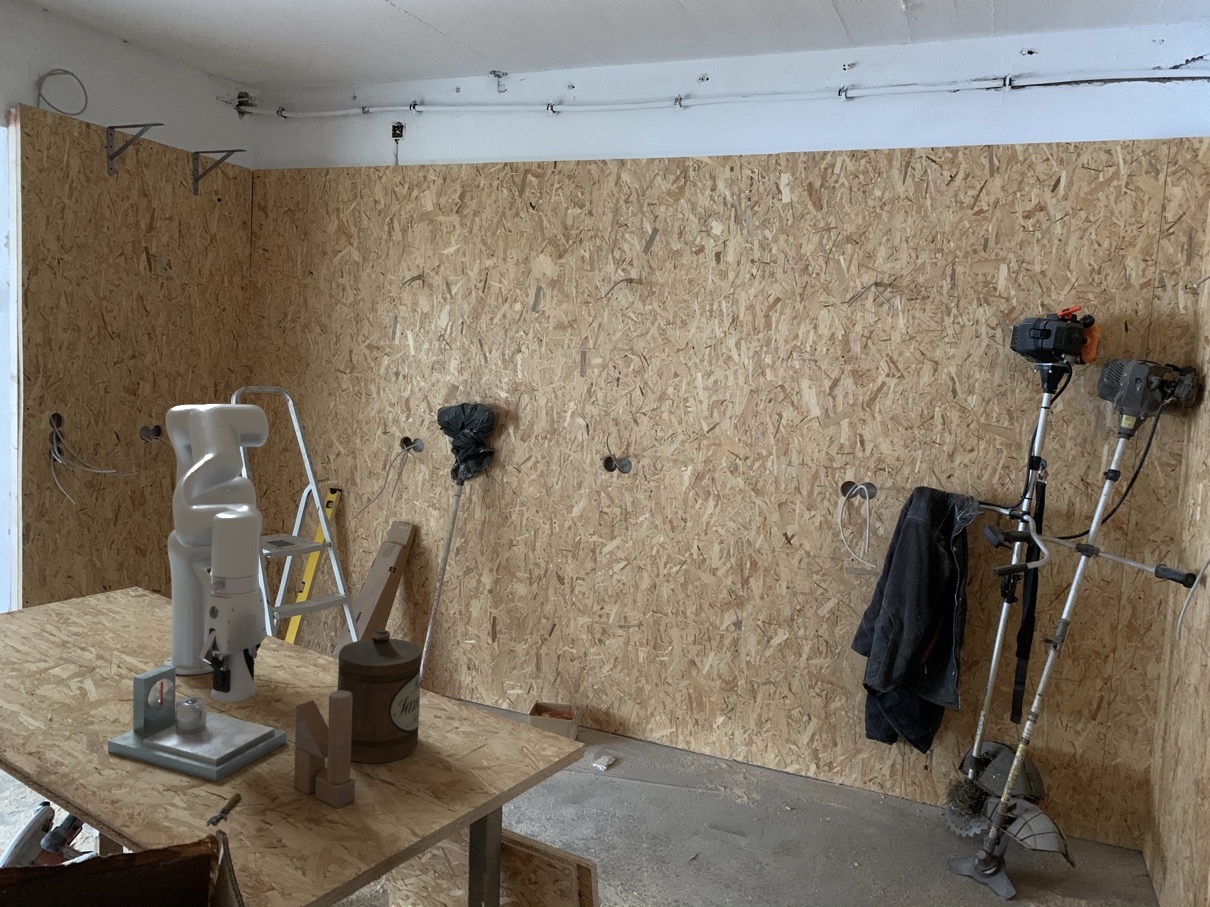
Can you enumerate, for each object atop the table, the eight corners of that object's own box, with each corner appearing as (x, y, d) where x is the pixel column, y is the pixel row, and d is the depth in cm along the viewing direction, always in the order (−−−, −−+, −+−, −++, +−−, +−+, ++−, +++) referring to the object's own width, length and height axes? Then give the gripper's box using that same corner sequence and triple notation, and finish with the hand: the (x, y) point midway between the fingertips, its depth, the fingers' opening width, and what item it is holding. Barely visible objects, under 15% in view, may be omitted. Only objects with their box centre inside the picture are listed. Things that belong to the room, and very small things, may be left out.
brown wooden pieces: (311, 780, 150) (313, 677, 148) (355, 800, 144) (358, 693, 142) (292, 788, 147) (295, 683, 145) (337, 809, 141) (340, 700, 139)
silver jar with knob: (190, 720, 163) (191, 694, 162) (212, 726, 161) (212, 699, 161) (168, 731, 158) (169, 703, 158) (190, 736, 157) (191, 709, 156)
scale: (184, 716, 171) (185, 656, 170) (286, 742, 163) (287, 679, 162) (107, 751, 156) (107, 685, 154) (216, 782, 147) (217, 712, 146)
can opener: (235, 798, 143) (235, 792, 143) (248, 800, 143) (248, 793, 143) (201, 828, 134) (201, 820, 134) (216, 829, 134) (216, 822, 134)
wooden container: (416, 763, 158) (420, 643, 156) (329, 765, 156) (332, 642, 153) (419, 728, 173) (423, 618, 170) (340, 729, 170) (343, 617, 168)
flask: (235, 706, 151) (236, 648, 150) (201, 698, 153) (201, 642, 152) (264, 691, 158) (265, 636, 157) (231, 684, 160) (232, 630, 159)
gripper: (214, 598, 144) (213, 706, 146) (286, 576, 160) (284, 674, 162) (179, 591, 147) (178, 698, 149) (253, 570, 163) (251, 667, 165)
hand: (233, 684), depth 155 cm, fingers closed on flask, 4 cm apart
